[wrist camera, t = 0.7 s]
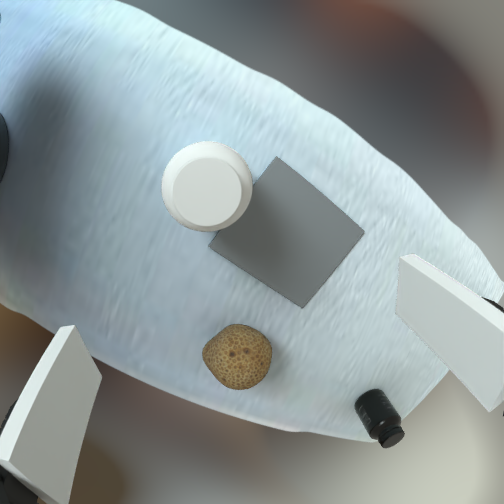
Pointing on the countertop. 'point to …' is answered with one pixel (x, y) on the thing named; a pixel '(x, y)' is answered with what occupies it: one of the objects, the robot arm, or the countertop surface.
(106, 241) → the countertop surface
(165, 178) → the pill bottle
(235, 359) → the natural sponge
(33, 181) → the countertop surface
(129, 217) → the countertop surface
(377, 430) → the supplement bottle
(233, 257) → the mat
